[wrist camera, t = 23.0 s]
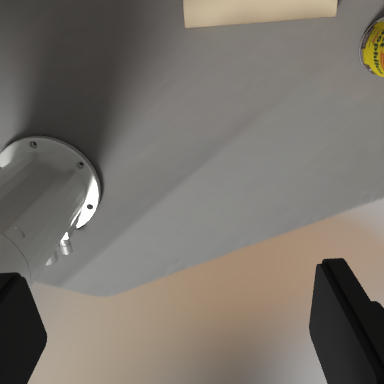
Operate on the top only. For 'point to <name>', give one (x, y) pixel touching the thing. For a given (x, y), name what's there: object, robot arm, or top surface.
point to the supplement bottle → (373, 48)
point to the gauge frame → (253, 11)
